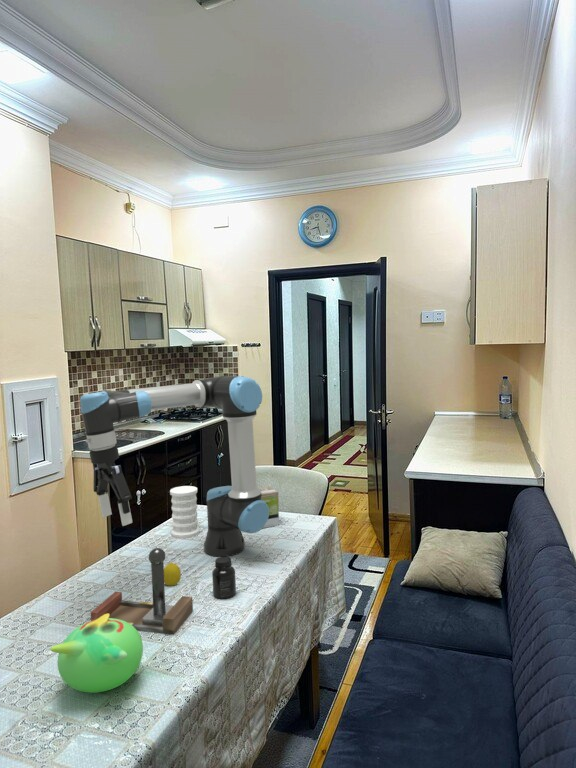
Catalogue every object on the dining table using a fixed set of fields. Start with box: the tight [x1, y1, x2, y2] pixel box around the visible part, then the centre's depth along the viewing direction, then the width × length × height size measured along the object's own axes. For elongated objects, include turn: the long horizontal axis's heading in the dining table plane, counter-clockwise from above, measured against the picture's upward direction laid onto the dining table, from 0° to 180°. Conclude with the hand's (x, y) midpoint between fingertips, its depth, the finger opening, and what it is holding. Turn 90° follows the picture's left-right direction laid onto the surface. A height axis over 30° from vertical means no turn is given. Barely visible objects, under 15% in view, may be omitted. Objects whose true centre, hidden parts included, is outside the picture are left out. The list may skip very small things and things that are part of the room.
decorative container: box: [169, 485, 201, 539], centre depth 209 cm, size 12×12×18 cm
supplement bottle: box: [211, 556, 237, 601], centre depth 153 cm, size 7×7×12 cm
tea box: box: [258, 486, 280, 529], centre depth 216 cm, size 15×10×15 cm, turn 117°
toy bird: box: [50, 613, 144, 694], centre depth 115 cm, size 18×17×15 cm
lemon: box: [164, 562, 182, 587], centre depth 161 cm, size 6×6×8 cm
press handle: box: [142, 547, 174, 627], centre depth 139 cm, size 6×8×20 cm
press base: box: [90, 591, 194, 636], centre depth 141 cm, size 24×12×6 cm, turn 77°
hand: (116, 519), depth 147 cm, fingers open, 13 cm apart
